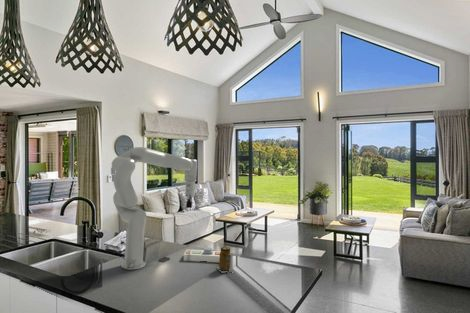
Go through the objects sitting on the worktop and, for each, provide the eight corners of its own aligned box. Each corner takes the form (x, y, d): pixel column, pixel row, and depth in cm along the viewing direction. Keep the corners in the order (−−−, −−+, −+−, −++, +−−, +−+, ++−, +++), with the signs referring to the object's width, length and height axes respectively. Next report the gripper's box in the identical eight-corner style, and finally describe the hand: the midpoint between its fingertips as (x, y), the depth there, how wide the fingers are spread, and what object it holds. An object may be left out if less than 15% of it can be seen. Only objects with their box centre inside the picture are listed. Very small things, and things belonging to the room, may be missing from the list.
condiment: (228, 267, 167) (229, 246, 167) (233, 272, 159) (234, 250, 159) (216, 268, 165) (217, 246, 165) (220, 274, 157) (221, 251, 157)
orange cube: (222, 260, 177) (222, 254, 177) (215, 259, 177) (215, 253, 177) (222, 257, 181) (223, 251, 181) (215, 257, 181) (216, 251, 181)
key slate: (211, 255, 177) (211, 250, 177) (203, 255, 177) (204, 249, 177) (211, 253, 181) (212, 247, 181) (204, 253, 181) (204, 247, 181)
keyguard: (226, 262, 174) (226, 255, 174) (183, 260, 174) (183, 253, 174) (227, 257, 184) (227, 250, 184) (186, 255, 184) (186, 248, 184)
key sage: (199, 258, 177) (199, 253, 177) (191, 258, 177) (192, 252, 177) (200, 256, 181) (200, 250, 181) (192, 256, 181) (193, 250, 181)
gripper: (194, 179, 180) (193, 209, 180) (197, 178, 195) (196, 206, 195) (182, 179, 180) (180, 209, 180) (186, 177, 195) (185, 205, 195)
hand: (189, 207), depth 187 cm, fingers closed
